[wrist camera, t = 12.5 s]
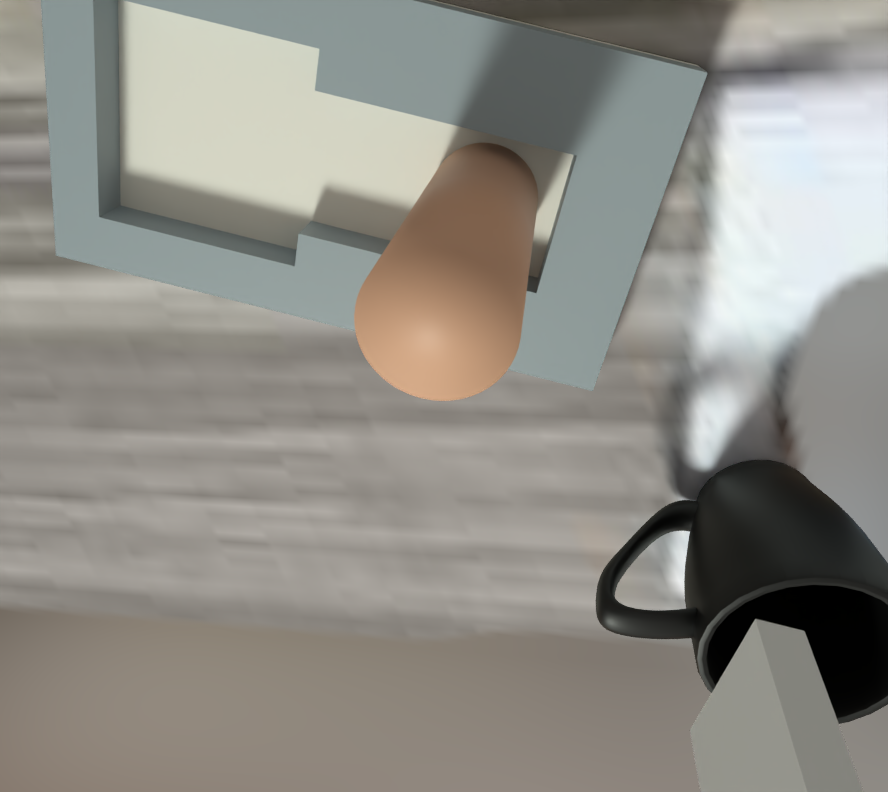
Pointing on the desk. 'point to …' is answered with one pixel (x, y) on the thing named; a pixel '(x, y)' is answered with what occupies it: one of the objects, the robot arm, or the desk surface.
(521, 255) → the peg
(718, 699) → the robot arm
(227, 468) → the desk surface
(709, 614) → the mug
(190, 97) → the keyhole board
